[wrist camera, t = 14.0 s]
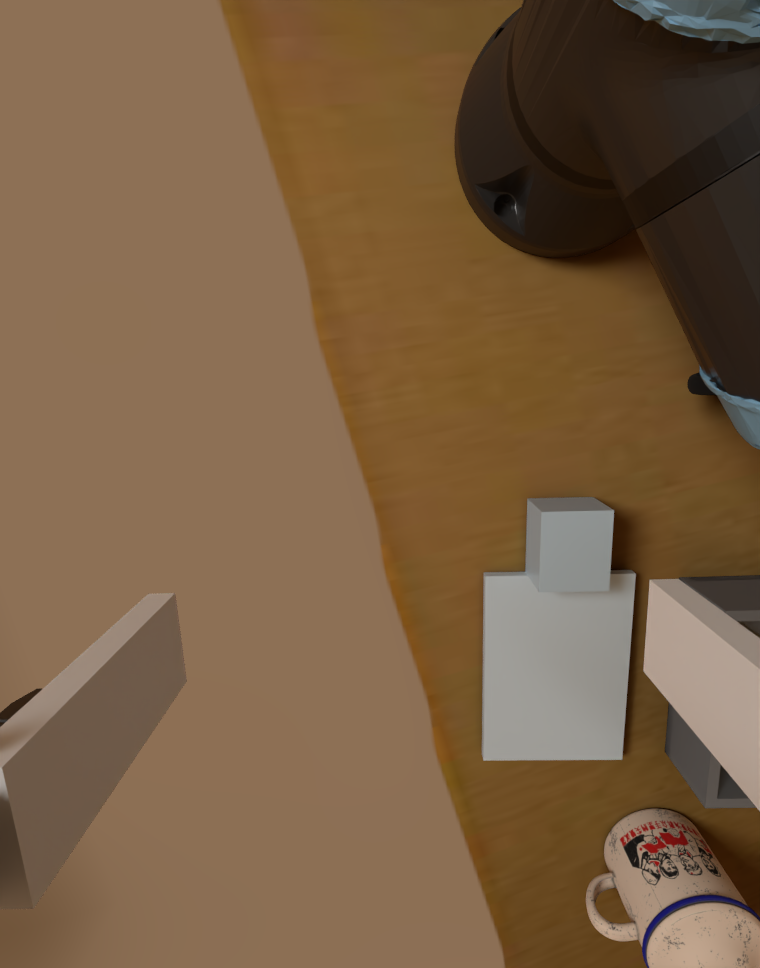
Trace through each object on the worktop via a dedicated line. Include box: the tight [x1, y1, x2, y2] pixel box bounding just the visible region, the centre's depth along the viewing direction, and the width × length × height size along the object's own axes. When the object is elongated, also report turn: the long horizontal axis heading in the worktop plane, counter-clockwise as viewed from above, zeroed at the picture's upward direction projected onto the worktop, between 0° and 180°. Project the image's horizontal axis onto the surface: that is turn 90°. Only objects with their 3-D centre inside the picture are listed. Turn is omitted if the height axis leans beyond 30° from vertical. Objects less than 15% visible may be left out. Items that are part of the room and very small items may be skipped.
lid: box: [482, 497, 636, 760], centre depth 41 cm, size 23×12×5 cm, turn 2°
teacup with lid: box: [586, 808, 760, 968], centre depth 42 cm, size 12×9×12 cm
